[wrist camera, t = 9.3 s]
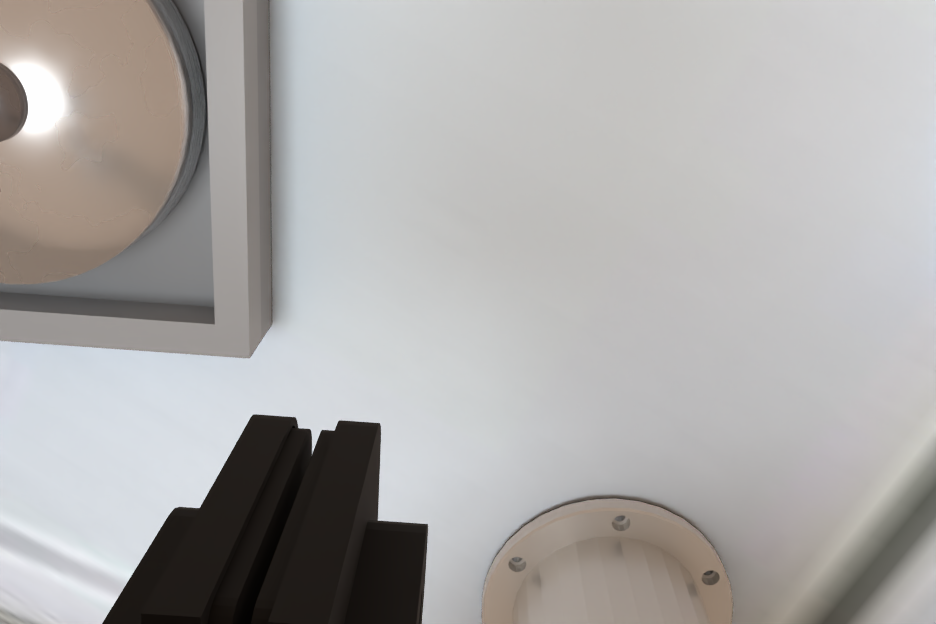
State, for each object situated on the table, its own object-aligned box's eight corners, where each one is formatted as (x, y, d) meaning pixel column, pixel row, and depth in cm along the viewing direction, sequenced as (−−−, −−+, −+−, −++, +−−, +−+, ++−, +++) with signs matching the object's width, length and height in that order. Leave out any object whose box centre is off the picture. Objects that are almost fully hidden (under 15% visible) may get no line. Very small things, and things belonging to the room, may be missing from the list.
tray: (271, 324, 40) (247, 361, 36) (-121, 296, 40) (-190, 330, 36) (267, -167, 33) (236, -190, 29) (-207, -202, 33) (-305, -230, 29)
